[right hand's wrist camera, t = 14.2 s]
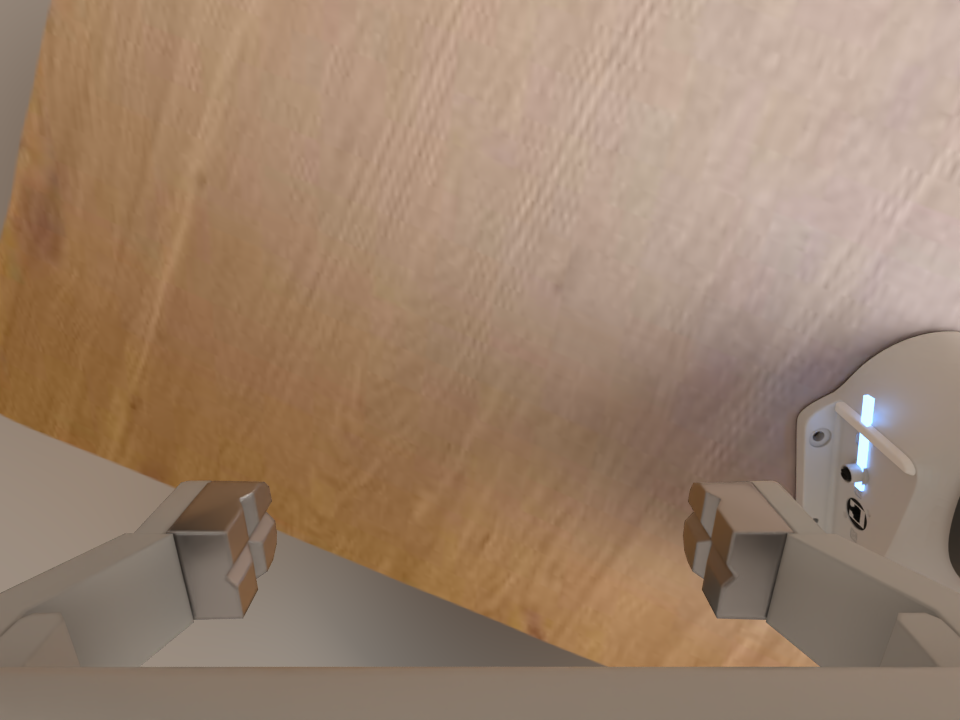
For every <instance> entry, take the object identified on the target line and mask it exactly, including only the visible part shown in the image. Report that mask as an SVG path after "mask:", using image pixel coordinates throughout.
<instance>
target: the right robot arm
mask: <svg viewBox="0 0 960 720" xmlns="http://www.w3.org/2000/svg"><path fill="white" fill-rule="evenodd" d="M816 432H819V433H818V434H817V435H816V436H814V437H813V435H814V434H815V433H816ZM271 502H272V499H271V494H270V489H269V486H268V485H267V484H266V483H265V482H246V481H186V482H182V483H180V484H179V485H178V487H177V488H176V489H175V490H174V491H173V492H172V493H171V494H170V495H169V496H168V497H167V498H166V499H165V501H164V502H163V503H162V504H161V505H160V506H159V507H158V508H157V509H156V510H155V511H154V512H153V513H152V514H151V515H150V516H149V518H148V519H147V520H146V521H145V522H144V523H143V524H142V525H141V526H140V527H139V528H138V529H137V530H136V531H135V533H134V534H123V535H121V536H119V537H117V538H115V539H112V540H110V541H108V542H106V543H104V544H102V545H100V546H98V547H96V548H94V549H91V550H89V551H87V552H85V553H83V554H81V555H79V556H77V557H75V558H73V559H71V560H69V561H66V562H64V563H62V564H60V565H58V566H56V567H54V568H52V569H50V570H48V571H46V572H43V573H41V574H39V575H37V576H35V577H33V578H31V579H29V580H27V581H25V582H22V583H20V584H18V585H16V586H14V587H12V588H10V589H8V590H6V591H4V592H1V593H0V720H960V332H957V331H942V332H933V333H927V334H923V335H919V336H915V337H912V338H909V339H906V340H904V341H901V342H899V343H897V344H895V345H893V346H890V347H889V348H887V349H885V350H883V351H882V352H880V353H878V354H877V355H875V356H874V357H873V358H871V359H870V360H868V361H867V362H866V363H865V364H864V365H862V366H861V367H860V368H859V369H858V370H857V371H856V372H855V373H854V374H853V375H852V376H851V377H850V378H849V379H848V380H847V381H846V382H845V383H844V384H843V385H842V386H841V387H839V388H838V389H837V390H836V391H834V392H833V393H831V394H829V395H827V396H825V397H823V398H821V399H819V400H817V401H815V402H813V403H812V404H810V405H809V406H807V407H806V408H805V409H803V410H802V411H801V413H800V414H799V416H798V418H797V440H796V500H795V499H794V498H793V497H792V496H791V495H790V494H789V493H788V492H787V491H786V490H785V489H784V488H783V486H782V485H781V484H780V483H778V482H775V481H773V480H768V481H746V482H704V483H693V485H692V487H691V489H690V493H689V499H688V502H689V504H690V505H691V507H692V509H693V510H694V512H693V513H692V514H691V515H690V516H689V517H688V518H687V519H686V520H685V524H684V532H683V541H684V551H685V554H686V557H687V561H688V563H689V565H690V567H691V569H692V571H693V572H694V573H696V574H697V575H699V576H700V577H702V578H703V579H704V581H703V587H702V591H703V592H704V594H705V596H706V598H707V600H708V602H709V604H710V606H711V608H712V610H713V611H714V613H715V615H716V617H717V618H722V619H758V620H766V622H767V623H768V624H769V625H770V626H771V627H773V628H774V629H775V630H776V631H778V632H779V633H780V634H781V635H782V636H784V637H785V638H786V639H787V640H789V641H790V642H791V643H792V644H793V645H795V646H796V647H797V648H798V649H800V650H801V651H802V652H803V653H804V654H806V655H807V656H808V657H809V658H811V659H812V660H813V661H814V662H815V663H817V664H818V665H819V666H820V667H140V666H141V665H142V664H143V663H145V662H146V661H147V660H148V659H150V658H151V657H152V656H153V655H155V654H156V653H157V652H158V651H159V650H161V649H162V648H163V647H164V646H166V645H167V644H168V643H169V642H170V641H172V640H173V639H174V638H175V637H176V636H178V635H179V634H180V633H181V632H183V631H184V630H185V629H186V628H188V627H189V626H190V625H191V624H192V623H194V620H202V619H236V618H243V617H244V615H245V613H246V612H247V610H248V608H249V606H250V604H251V602H252V600H253V598H254V596H255V594H256V592H257V591H258V587H257V581H256V579H257V578H258V577H260V576H261V575H263V574H264V573H266V572H267V571H268V569H269V567H270V565H271V563H272V561H273V558H274V553H275V549H276V545H277V530H276V523H275V520H274V519H273V518H272V517H271V516H270V515H269V514H268V513H267V512H266V510H267V509H268V507H269V505H270V504H271Z"/></svg>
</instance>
